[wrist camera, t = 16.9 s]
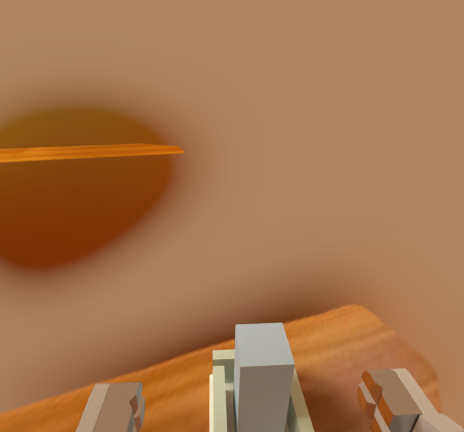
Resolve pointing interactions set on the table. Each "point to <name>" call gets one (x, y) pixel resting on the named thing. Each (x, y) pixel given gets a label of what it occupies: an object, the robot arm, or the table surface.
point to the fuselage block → (261, 377)
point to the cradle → (222, 398)
